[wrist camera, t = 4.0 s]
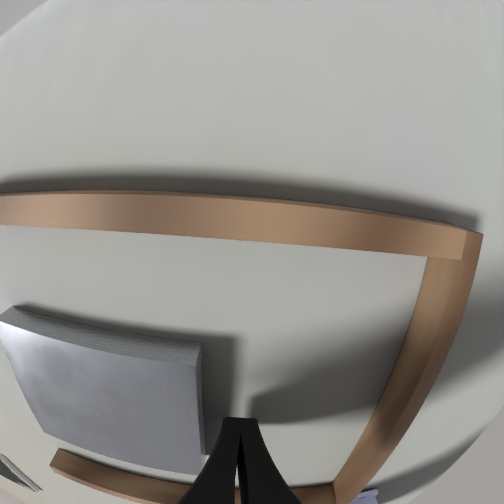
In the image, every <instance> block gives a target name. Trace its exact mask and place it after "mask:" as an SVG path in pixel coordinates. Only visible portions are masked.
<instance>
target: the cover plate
mask: <svg viewBox="0 0 504 504" xmlns="http://www.w3.org/2000/svg"><path fill="white" fill-rule="evenodd" d="M0 338H1V341H2V344H3V347H4V349H5V352H6V355H7V357H8V360H9V363H10V365H11V368H12V370H13V372H14V375H15V377H16V379H17V381H18V384H19V386H20V388H21V390H22V392H23V394H24V396H25V398H26V400H27V402H28V404H29V406H30V408H31V410H32V412H33V414H34V415H35V417H36V419H37V421H38V423H39V424H40V426H41V428H42V429H43V431H44V432H45V433H47V434H50V435H52V436H54V437H56V438H59V439H61V440H63V441H66V442H68V443H71V444H73V445H76V446H78V447H81V448H84V449H87V450H90V451H92V452H95V453H98V454H102V455H105V456H108V457H111V458H115V459H118V460H122V461H125V462H129V463H133V464H137V465H142V466H146V467H151V468H156V469H161V470H166V471H172V472H178V473H185V474H192V475H199V474H200V472H201V471H202V469H203V467H204V464H205V440H204V422H203V399H202V363H201V342H194V341H185V340H176V339H168V338H160V337H153V336H146V335H139V334H133V333H126V332H120V331H115V330H109V329H104V328H99V327H93V326H89V325H84V324H79V323H74V322H70V321H66V320H61V319H57V318H53V317H49V316H45V315H41V314H37V313H34V312H30V311H26V310H23V309H19V308H16V307H13V306H12V307H11V308H9V309H8V310H7V311H5V312H4V313H2V314H1V315H0Z"/></svg>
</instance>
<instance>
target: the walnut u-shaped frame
mask: <svg viewBox="0 0 504 504" xmlns="http://www.w3.org/2000/svg"><path fill="white" fill-rule="evenodd" d="M0 225H16V226H36V227H54V228H71V229H88V230H104V231H120V232H135V233H150V234H165V235H179V236H193V237H206V238H220V239H233V240H246V241H258V242H271V243H283V244H295V245H307V246H319V247H330V248H342V249H353V250H364V251H375V252H385V253H396V254H407V255H417V256H427V257H428V259H427V263H426V268H425V272H424V276H423V280H422V284H421V288H420V292H419V295H418V299H417V303H416V306H415V309H414V313H413V316H412V319H411V322H410V325H409V328H408V331H407V334H406V337H405V340H404V343H403V346H402V348H401V351H400V354H399V356H398V359H397V361H396V364H395V367H394V369H393V371H392V374H391V376H390V379H389V381H388V383H387V385H386V388H385V390H384V392H383V394H382V397H381V399H380V401H379V403H378V405H377V407H376V409H375V411H374V413H373V415H372V417H371V419H370V421H369V423H368V425H367V427H366V429H365V430H364V432H363V434H362V436H361V438H360V439H359V441H358V443H357V445H356V446H355V448H354V450H353V451H352V453H351V455H350V456H349V458H348V460H347V461H346V463H345V464H344V466H343V468H342V469H341V471H340V472H339V474H338V475H337V477H336V478H335V480H334V481H333V483H332V484H331V485H324V486H316V487H306V488H294V489H291V490H292V492H293V493H294V494H295V496H296V497H297V498H298V499H299V500H300V502H301V503H302V504H350V503H351V502H352V501H353V500H354V498H355V497H356V496H357V495H358V494H359V493H360V492H361V491H362V490H363V488H364V487H365V486H366V485H367V484H368V483H369V481H370V480H371V479H372V478H373V477H374V475H375V474H376V473H377V472H378V470H379V469H380V468H381V466H382V465H383V464H384V463H385V461H386V460H387V459H388V457H389V456H390V454H391V453H392V452H393V450H394V449H395V447H396V446H397V445H398V443H399V442H400V440H401V439H402V437H403V436H404V434H405V433H406V431H407V430H408V428H409V426H410V425H411V423H412V422H413V420H414V418H415V417H416V415H417V413H418V412H419V410H420V408H421V406H422V405H423V403H424V401H425V399H426V397H427V395H428V394H429V392H430V390H431V388H432V386H433V384H434V382H435V380H436V378H437V376H438V374H439V372H440V370H441V367H442V365H443V363H444V361H445V359H446V356H447V354H448V352H449V349H450V347H451V345H452V342H453V340H454V337H455V334H456V332H457V329H458V326H459V324H460V321H461V318H462V315H463V312H464V309H465V306H466V303H467V300H468V297H469V293H470V290H471V286H472V283H473V279H474V275H475V271H476V267H477V263H478V258H479V254H480V249H481V244H482V239H483V234H481V233H478V232H475V231H472V230H469V229H465V228H462V227H459V226H456V225H452V224H448V223H443V222H438V221H432V220H427V219H421V218H416V217H410V216H404V215H398V214H392V213H386V212H380V211H373V210H366V209H359V208H352V207H345V206H337V205H329V204H321V203H313V202H304V201H295V200H285V199H275V198H264V197H253V196H240V195H227V194H212V193H195V192H174V191H145V190H57V191H31V192H13V193H0ZM49 466H50V467H51V468H52V470H53V471H54V472H56V473H58V474H60V475H62V476H64V477H66V478H69V479H71V480H73V481H76V482H78V483H81V484H83V485H86V486H88V487H91V488H93V489H96V490H99V491H102V492H105V493H108V494H111V495H114V496H117V497H120V498H124V499H127V500H131V501H134V502H138V503H142V504H177V503H178V502H179V500H180V499H181V498H182V497H183V496H184V494H185V493H186V492H187V491H188V490H189V488H190V487H191V486H192V485H186V484H179V483H173V482H167V481H162V480H157V479H152V478H148V477H143V476H139V475H135V474H131V473H128V472H124V471H120V470H117V469H114V468H110V467H107V466H104V465H101V464H98V463H95V462H92V461H89V460H87V459H84V458H81V457H79V456H76V455H74V454H71V453H69V452H66V451H64V450H62V449H60V448H58V450H57V452H56V454H55V456H54V457H53V459H52V461H51V463H50V465H49ZM235 504H241V499H240V489H235Z"/></svg>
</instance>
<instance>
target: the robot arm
mask: <svg viewBox="0 0 504 504" xmlns="http://www.w3.org/2000/svg"><path fill="white" fill-rule="evenodd" d="M236 468H238V479H239V489H240V499H241V504H302V503H301V502H300V500H299V499H298V498H297V497H296V496H295V494H294V493H293V492H292V490H291V489H290V488H289V486H288V485H287V484H286V482H285V481H284V479H283V478H282V476H281V474H280V473H279V471H278V469H277V468H276V466H275V464H274V462H273V460H272V458H271V456H270V454H269V452H268V450H267V448H266V446H265V443H264V441H263V438H262V435H261V432H260V429H259V426H258V421H257V420H256V419H255V418H235V417H225V418H223V422H222V427H221V430H220V433H219V436H218V439H217V441H216V444H215V446H214V448H213V450H212V452H211V455H210V457H209V458H208V460H207V462H206V464H205V465H204V467H203V469H202V471H201V472H200V474H199V475H198V477H197V478H196V480H195V481H194V483H193V484H192V486H191V487H190V488H189V490H188V491H187V492H186V493H185V494H184V496H183V497H182V498H181V499H180V500H179V502H178V503H177V504H235V475H236ZM378 493H379V492H378V490H377V489H374V490H370V491H366V492H361V493H359V494H358V495H357V496H356V497H355V498H354V500H353V501H352V502H351V503H350V504H378V502H377V500H376V497H375V496H376V495H377V494H378Z"/></svg>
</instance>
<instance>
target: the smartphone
mask: <svg viewBox="0 0 504 504" xmlns="http://www.w3.org/2000/svg"><path fill="white" fill-rule="evenodd" d="M0 475H2V476H4V477H6V478H7V479H9V480H11V481H13V482H15V483H17V484H19V485H21V486H23V487H26V488H28V489H30V490H32V491H35V492H37V493H38V492H39V490H40V488H39V487H38V486H36V485H35V484H34V483H33V482H32V481H31V480H29V479H28V478H27V477H26V476H25V475H24V474H23V473H22V472H20V471H19V470H18V469H17V468H16V467H15V466H14V465H13V464H12V463H11V462H10V461H9V460H8V459H7V458H6V457H5V456H3V455H2V454H1V453H0Z"/></svg>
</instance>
